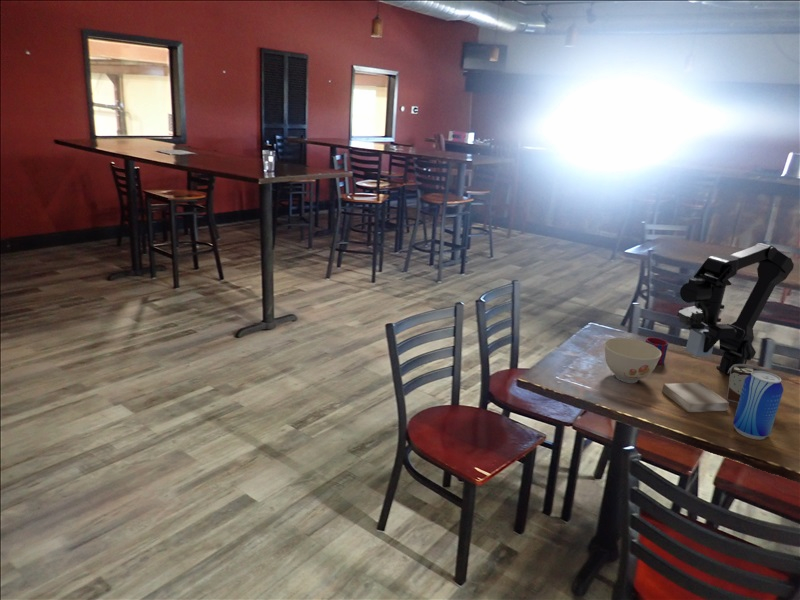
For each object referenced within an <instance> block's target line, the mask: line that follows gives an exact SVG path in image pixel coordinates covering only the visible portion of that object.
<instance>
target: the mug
mask: <svg viewBox="0 0 800 600" xmlns="http://www.w3.org/2000/svg"><path fill="white" fill-rule="evenodd" d="M645 342H646V343H649V344H651V345H653V346H655V347H656V348H658V349H659V350H660V351H661V357H660V359H659V361H658V363H657V365H656V366H658V365H663V364H664V363H665V360H666V356H667V351H668V346H669V342H668V341H667V340H665V339H663V338H662V337H653V336H652V337H651V336H650V337H646V338H645Z"/></svg>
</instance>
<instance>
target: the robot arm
mask: <svg viewBox="0 0 800 600" xmlns="http://www.w3.org/2000/svg"><path fill="white" fill-rule="evenodd" d="M755 264H758V266H757V267H756V271H757V280H756V283H755V284H754V286H753V289H752V290H751V292H750V294H749V296H748V297H747V300H746V301H745V303H744V306H743V307H742V309H741V310H740V312H739V315H738V317H737V318H736V320H735V321H734V322H732V323H731V324H730V323H721V322H722V318H720V317H719V315H720V311H721V310H724V309H725V304H723V300H724V296H725V291H726V287H727V286H732V282H731V281H730V280H729V279H731V278H733V277H735V276H736V275H737V273H738V271H739V270H741V269H744V268H746V267H749V266H752V265H755ZM793 270H794V262H793V259H792V258H791V257H789V256H787V255H786V254H784V253H782V252H781V251H779V250H778V249H777V248H776V247H775V246H774V245H771V244H770V245H769V244H768V243H767V244H766V243H763V242H759V243H756V244H755V245H753V246H750V247H747V248H746V249H742V250H739V251H737V252H734V253H732V254H714V255H711V256H708V258H706V260H704V262H703V264H702V265H701V266H700V267H699V269H698V270H697V271H696V273H695V274H694V275H693V278H689V279H688V282H685V283H684V284H683V285H682V286H681V287H680V291H679V295H680V298H681V299H682V301H684V303H688V304H692V303H694V305H693V306H688V307H687V306H686V307H685V306H684V307H680V308H679V309H678V311H677V317H678V318H679V319H678V321H679V322H680V323H683V324H684V325H685V326H688V328H689V330H690V329H705V327H707V328H708V331H703V333H704V334H705V336H706V337H705V343H704V350H703V352H704V353H707V352H708V351H709V350H710V349H711V348H712V347H713V346H715V345H716V344H717V343H718V341H719V351H720V350H721V351H723V355H722V357H721V359H720V363H719V364H720V365H716V369H718V370H720V371H721V372H722V373H723V374H726V375H727V376H729V377H730V372H729V373H728V371H729V369H730V368H731V367H732V366H733V365H735V364H747V361H751V360H752V359H754V357H755V355H756V354H757V352H756V350H755V348H754V345H753V342H754V340H755V334H754V329H753V328H754V326H755V325H756V323H757V320H758V319H759V317H760V316H761V314H762V311H763V309H765V306H766V304H767V302H768V300H769V298H770V297H771V294H772V293H773V291H774V290H775V287H776V286H777V285H779V284H780V283H782V282H784V281H785V280H786V279H787V278H788V277H789V275H790V274H791V272H792V271H793ZM713 348H714V347H713Z"/></svg>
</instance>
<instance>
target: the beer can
mask: <svg viewBox="0 0 800 600" xmlns="http://www.w3.org/2000/svg"><path fill="white" fill-rule="evenodd" d="M772 373H773V372H772ZM772 373H769V372H765V371H752V372H751V375H749V376H748V377H747V378H746V379H745V381H744V385H743V388H742V392H741V396H740V399H739V403H737V407H736V410H735V415H734V418H733V420H732V421H733V422H732V423H733V424H732V425H733V426H734V429H735V431H736V432H737V433H738V434H739V435H741V436H743V437H745V438H748V439H752V440H757V441H758V440H764V439H766V437H769V436H770V435H771V433H772V430H773V426H774V423H775V420H776V416H777V412H778V410H779V405H780V403H781V400H782V396H783V392H784V387H783V384H782V378H781V377H780V376H778V375H777V374H775V373H774V374H772Z"/></svg>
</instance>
